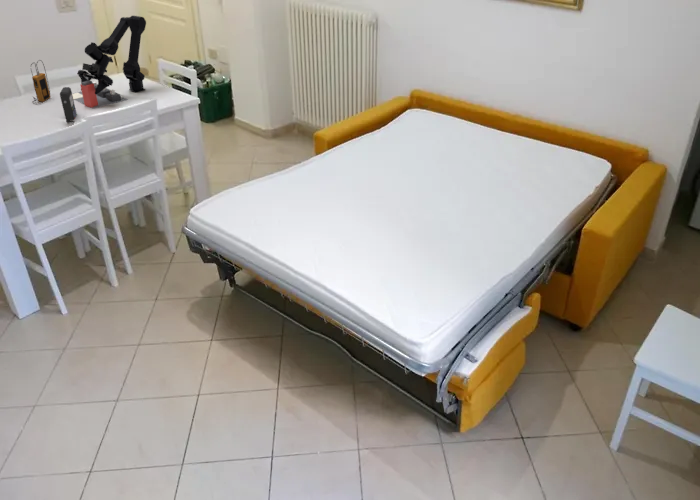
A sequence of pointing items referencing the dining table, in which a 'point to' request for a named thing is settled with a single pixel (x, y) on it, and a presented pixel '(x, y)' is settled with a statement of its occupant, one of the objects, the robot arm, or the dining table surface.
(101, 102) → the breaker panel
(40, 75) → the multimeter
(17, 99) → the dining table surface
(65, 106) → the card reader
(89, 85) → the block
